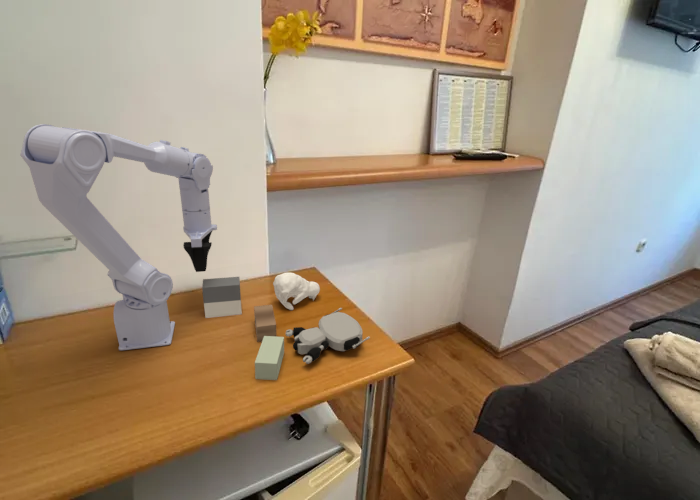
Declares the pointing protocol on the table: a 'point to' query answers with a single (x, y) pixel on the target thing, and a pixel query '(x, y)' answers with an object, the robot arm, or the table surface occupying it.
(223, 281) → the charcoal brick
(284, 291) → the white animal figurine
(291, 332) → the robot toy
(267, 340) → the sage brick
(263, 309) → the walnut brick
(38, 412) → the table surface
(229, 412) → the table surface
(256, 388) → the table surface
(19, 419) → the table surface
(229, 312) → the off-white brick
